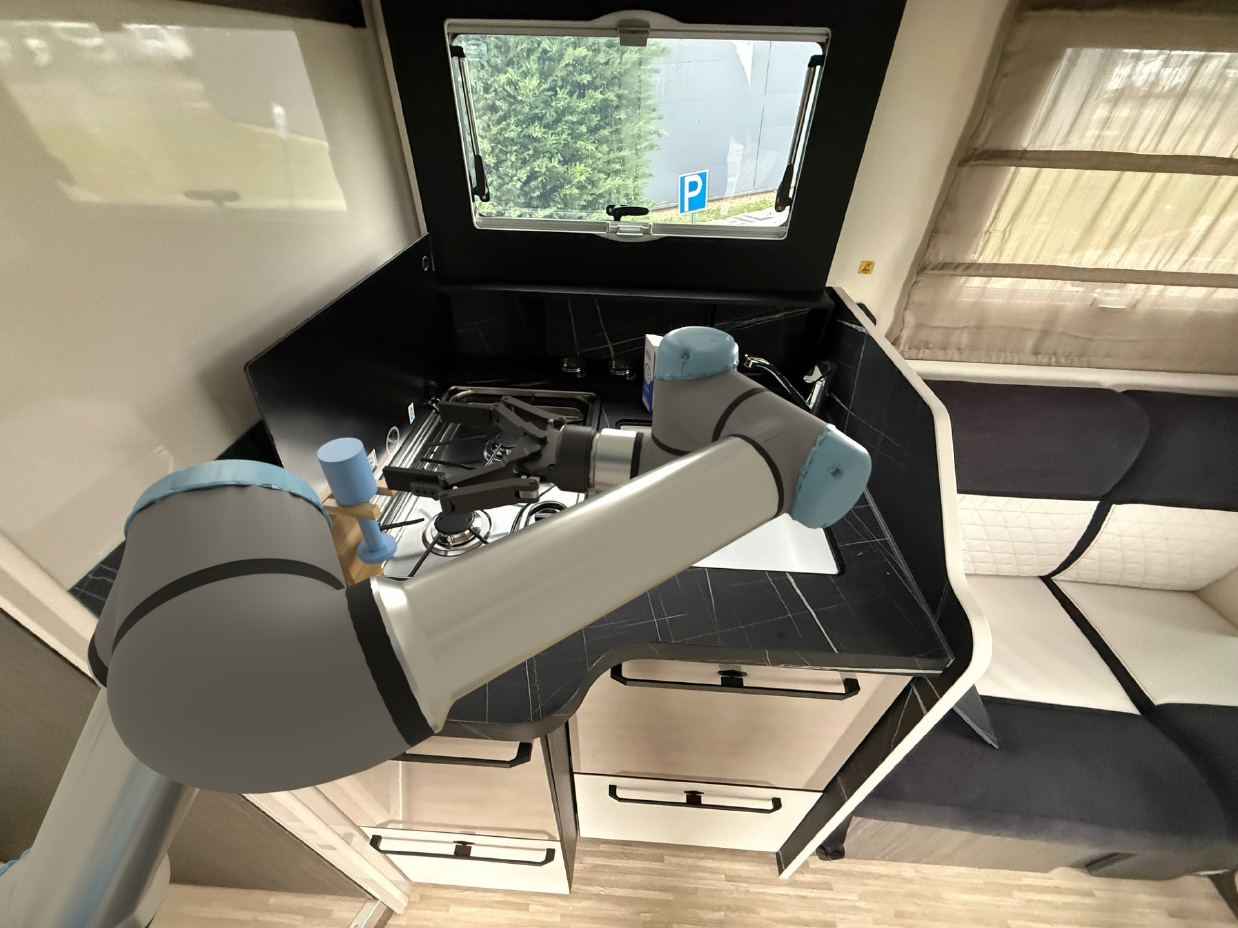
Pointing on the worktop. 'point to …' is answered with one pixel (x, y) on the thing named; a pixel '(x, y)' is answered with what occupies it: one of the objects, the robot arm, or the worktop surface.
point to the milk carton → (650, 369)
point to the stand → (352, 532)
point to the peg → (356, 493)
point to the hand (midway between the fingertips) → (415, 441)
